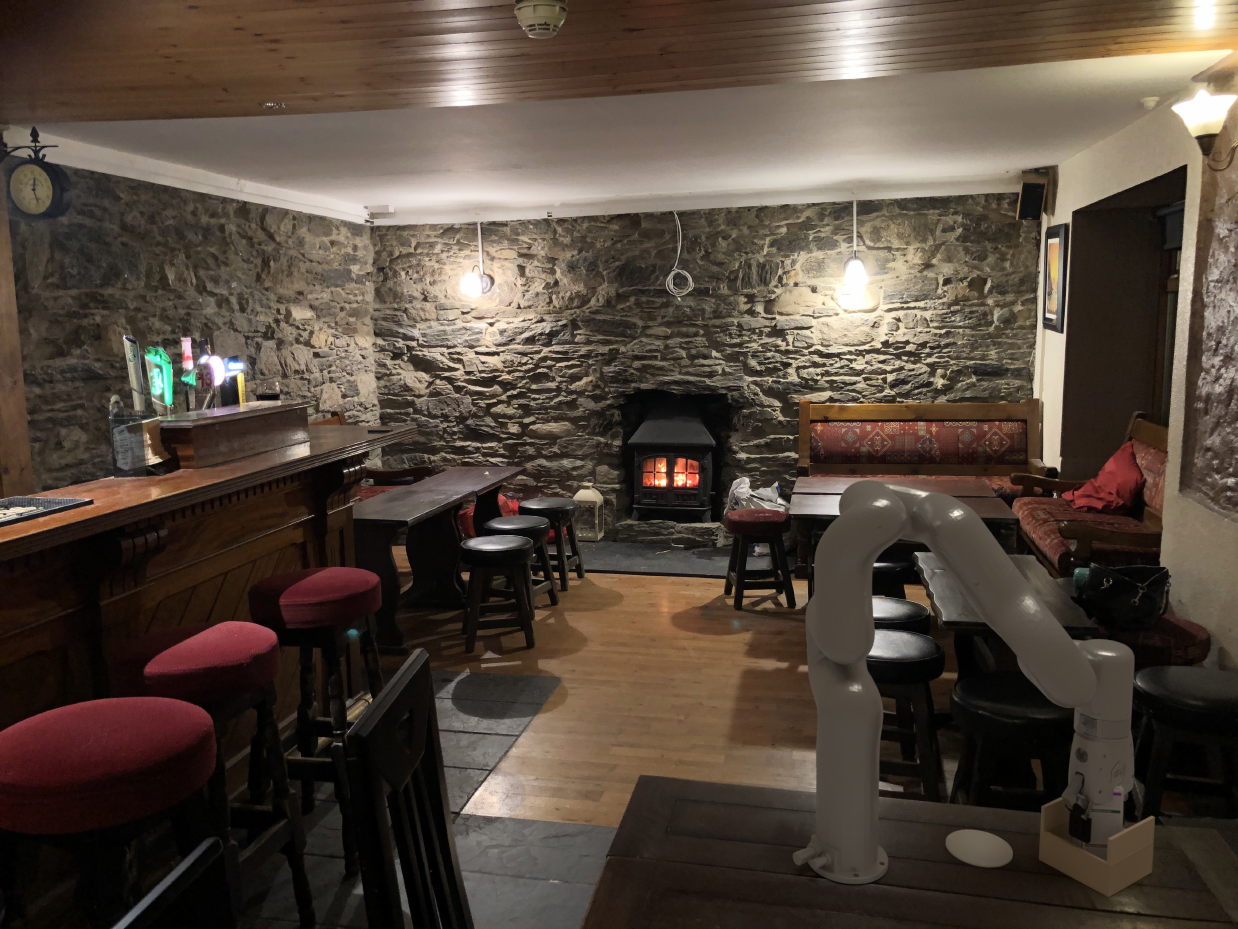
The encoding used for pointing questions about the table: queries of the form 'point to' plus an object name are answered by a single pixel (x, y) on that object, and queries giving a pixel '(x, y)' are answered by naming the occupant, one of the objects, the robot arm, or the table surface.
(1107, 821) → the syrup box
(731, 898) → the table surface
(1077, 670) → the robot arm
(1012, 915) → the table surface
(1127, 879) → the wooden frame
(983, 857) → the beer mat
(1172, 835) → the table surface
